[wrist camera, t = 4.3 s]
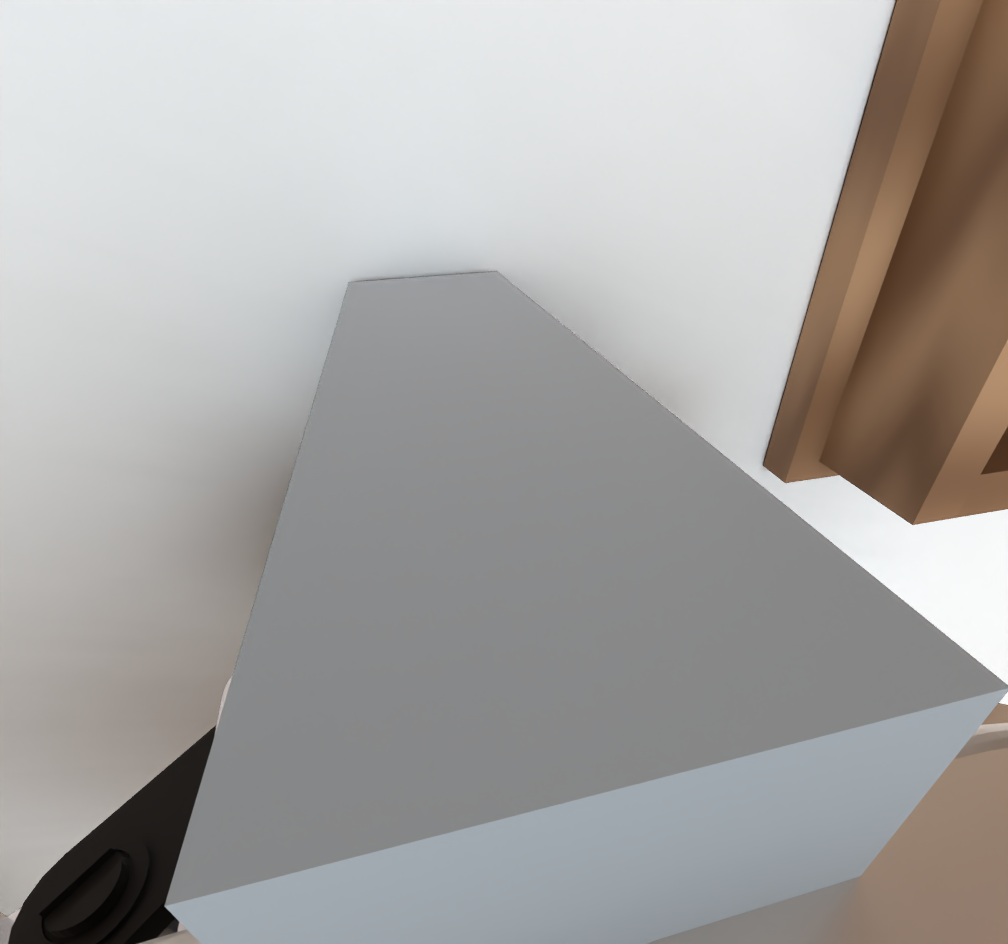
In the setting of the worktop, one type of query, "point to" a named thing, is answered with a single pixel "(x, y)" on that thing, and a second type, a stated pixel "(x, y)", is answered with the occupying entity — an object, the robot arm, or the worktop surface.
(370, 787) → the door panel
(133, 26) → the worktop surface
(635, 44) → the worktop surface
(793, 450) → the track
